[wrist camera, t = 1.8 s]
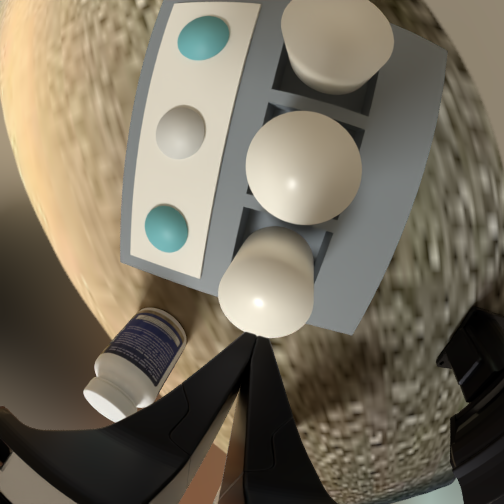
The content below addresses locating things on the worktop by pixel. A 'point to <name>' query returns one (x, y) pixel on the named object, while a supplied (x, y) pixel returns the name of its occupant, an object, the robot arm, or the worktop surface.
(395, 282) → the worktop surface
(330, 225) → the button board
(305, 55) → the button
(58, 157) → the worktop surface
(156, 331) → the pill bottle
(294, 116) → the button
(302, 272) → the button
